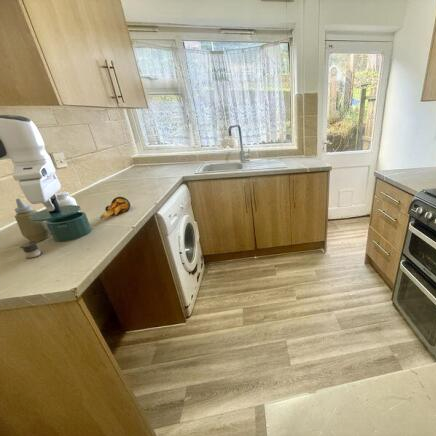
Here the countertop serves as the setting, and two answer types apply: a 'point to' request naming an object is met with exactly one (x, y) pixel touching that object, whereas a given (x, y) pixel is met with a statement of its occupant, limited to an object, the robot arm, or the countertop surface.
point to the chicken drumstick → (117, 207)
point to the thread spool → (31, 249)
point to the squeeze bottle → (30, 223)
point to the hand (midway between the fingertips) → (53, 208)
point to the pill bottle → (65, 199)
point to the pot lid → (55, 212)
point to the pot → (69, 227)
